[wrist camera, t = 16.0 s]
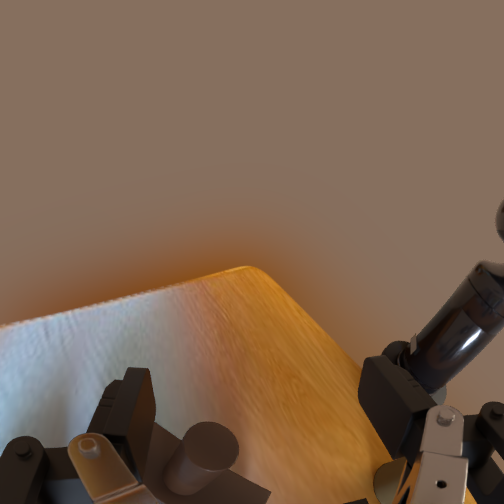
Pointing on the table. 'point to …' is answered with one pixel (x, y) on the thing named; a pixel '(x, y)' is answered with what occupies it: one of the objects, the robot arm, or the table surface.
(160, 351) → the table surface
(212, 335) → the table surface
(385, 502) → the cork
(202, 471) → the stamp
